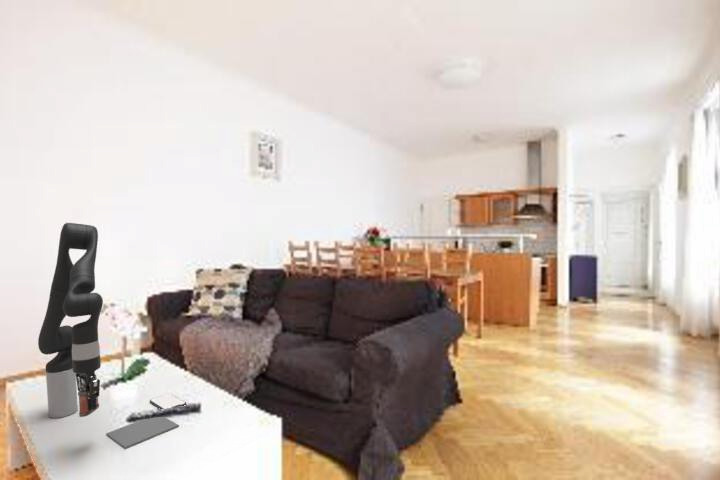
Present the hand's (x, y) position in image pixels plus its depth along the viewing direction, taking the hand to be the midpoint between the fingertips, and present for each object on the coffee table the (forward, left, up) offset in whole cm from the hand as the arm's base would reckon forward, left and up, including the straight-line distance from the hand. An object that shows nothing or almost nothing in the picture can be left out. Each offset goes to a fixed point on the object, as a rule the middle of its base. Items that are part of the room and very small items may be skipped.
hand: (89, 406), depth 137 cm
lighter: (0, 0, -2) cm, 2 cm away
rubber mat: (+3, +15, -13) cm, 20 cm away
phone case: (-11, +31, -14) cm, 36 cm away
